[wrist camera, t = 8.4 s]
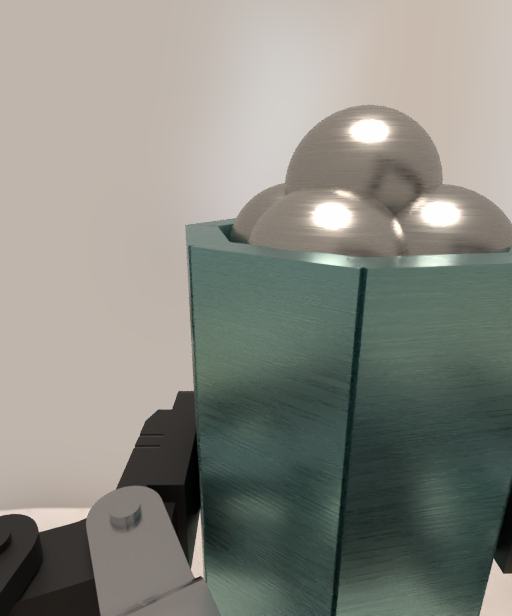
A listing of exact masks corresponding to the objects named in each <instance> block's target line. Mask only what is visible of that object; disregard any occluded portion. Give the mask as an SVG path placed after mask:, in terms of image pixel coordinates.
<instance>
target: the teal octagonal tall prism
mask: <svg viewBox="0 0 512 616" xmlns="http://www.w3.org/2000/svg"><path fill="white" fill-rule="evenodd" d="M186 246H187V262H188V263H187V265H188V283H189V303H190V322H191V341H192V361H193V379H194V399H195V418H196V435H197V454H198V473H199V493H200V514H201V533H202V553H203V572H204V580H205V582H206V584H207V585H208V587H209V590H210V592H211V594H212V596H213V599H214V601H215V603H216V605H217V608H218V610H219V612H220V615H221V616H479V614H480V610H481V606H482V602H483V598H484V594H485V590H486V586H487V582H488V578H489V574H490V570H491V566H492V562H493V558H494V554H495V550H496V546H497V542H498V538H499V534H500V530H501V526H502V522H503V518H504V514H505V510H506V506H507V502H508V498H509V494H510V490H511V486H512V224H511V222H510V220H509V219H508V218H507V216H506V215H505V214H504V212H503V211H502V210H501V209H500V208H499V207H497V206H496V205H495V204H494V203H493V202H491V201H490V200H489V199H487V198H486V197H484V196H482V195H480V194H478V193H476V192H474V191H472V190H469V189H466V188H463V187H459V186H454V185H445V184H442V167H441V162H440V158H439V155H438V152H437V149H436V147H435V145H434V143H433V141H432V140H431V138H430V137H429V135H428V134H427V133H426V131H425V130H424V129H423V128H422V127H421V126H420V125H419V124H418V123H417V122H416V121H415V120H413V119H412V118H410V117H409V116H407V115H405V114H404V113H402V112H399V111H397V110H395V109H391V108H388V107H384V106H375V105H362V106H356V107H350V108H347V109H344V110H341V111H338V112H336V113H334V114H332V115H330V116H328V117H326V118H325V119H324V120H322V121H321V122H319V123H318V124H317V125H316V126H315V127H314V128H313V129H311V130H310V131H309V132H308V133H307V135H306V136H305V137H304V138H303V139H302V141H301V142H300V144H299V145H298V147H297V148H296V150H295V152H294V154H293V156H292V158H291V161H290V164H289V166H288V170H287V175H286V180H285V183H284V184H279V185H276V186H273V187H270V188H268V189H266V190H264V191H262V192H260V193H259V194H257V195H256V196H255V197H254V198H252V199H251V200H250V201H249V202H248V203H247V204H246V205H245V206H244V208H243V209H242V210H241V212H240V213H239V215H238V216H237V218H235V219H227V220H220V221H213V222H205V223H198V224H191V225H186Z"/></svg>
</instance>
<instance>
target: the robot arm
mask: <svg viewBox="0 0 512 616" xmlns="http://www.w3.org/2000/svg"><path fill="white" fill-rule="evenodd" d="M199 514H200V493H199V473H198V454H197V435H196V418H195V399H194V391H179V392H178V394H177V397H176V400H175V403H174V406H173V409H172V410H157V411H156V412H155V413H154V414H153V415H152V416H151V417H150V418H148V419H147V420H146V421H145V424H144V426H143V428H142V431H141V433H140V437H139V438H138V440H137V442H136V444H135V448H134V449H133V452H132V454H131V456H130V458H129V461H128V463H127V465H126V468H125V470H124V472H123V475H122V477H121V479H120V481H119V484H118V486H117V488H116V490H114V491H112V492H110V493H108V494H106V495H105V496H103V497H102V498H101V499H99V500H98V501H97V502H96V503H95V505H94V506H93V507H92V508H91V510H90V511H89V513H88V516H87V518H86V519H83V520H81V521H79V522H76V523H72V524H69V525H65V526H61V527H58V528H54V529H50V530H46V531H43V532H39V531H38V527H37V524H36V522H35V521H34V520H33V519H32V518H30V517H28V516H25V515H20V514H10V515H4V516H0V616H221V615H220V612H219V610H218V608H217V605H216V603H215V601H214V599H213V596H212V594H211V592H210V590H209V587H208V585H207V584H206V582H205V580H204V579H203V578H202V577H201V576H200V577H198V578H194V576H193V574H192V572H191V565H192V559H193V552H194V546H195V539H196V533H197V526H198V520H199ZM494 559H495V561H496V563H497V564H498V566H499V567H500V569H501V570H502V572H503V574H507V573H512V486H511V490H510V494H509V498H508V502H507V506H506V510H505V514H504V518H503V522H502V526H501V530H500V534H499V538H498V542H497V546H496V550H495V554H494Z"/></svg>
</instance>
